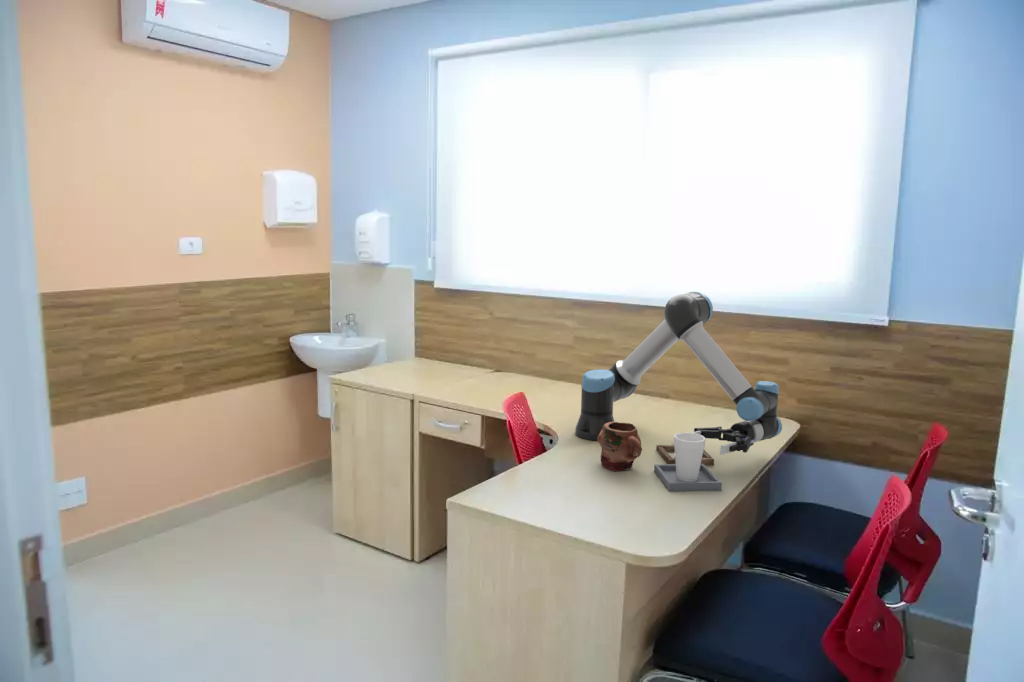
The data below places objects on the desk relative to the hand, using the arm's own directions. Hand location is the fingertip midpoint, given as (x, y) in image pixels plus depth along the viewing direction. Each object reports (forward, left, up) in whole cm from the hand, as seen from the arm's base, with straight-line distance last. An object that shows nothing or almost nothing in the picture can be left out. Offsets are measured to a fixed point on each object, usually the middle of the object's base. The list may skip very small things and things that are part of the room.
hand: (703, 444), depth 224 cm
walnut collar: (0, +18, -11) cm, 21 cm away
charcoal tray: (-6, -3, -11) cm, 13 cm away
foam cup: (-6, -3, -10) cm, 12 cm away
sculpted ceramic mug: (-24, +9, -11) cm, 27 cm away
